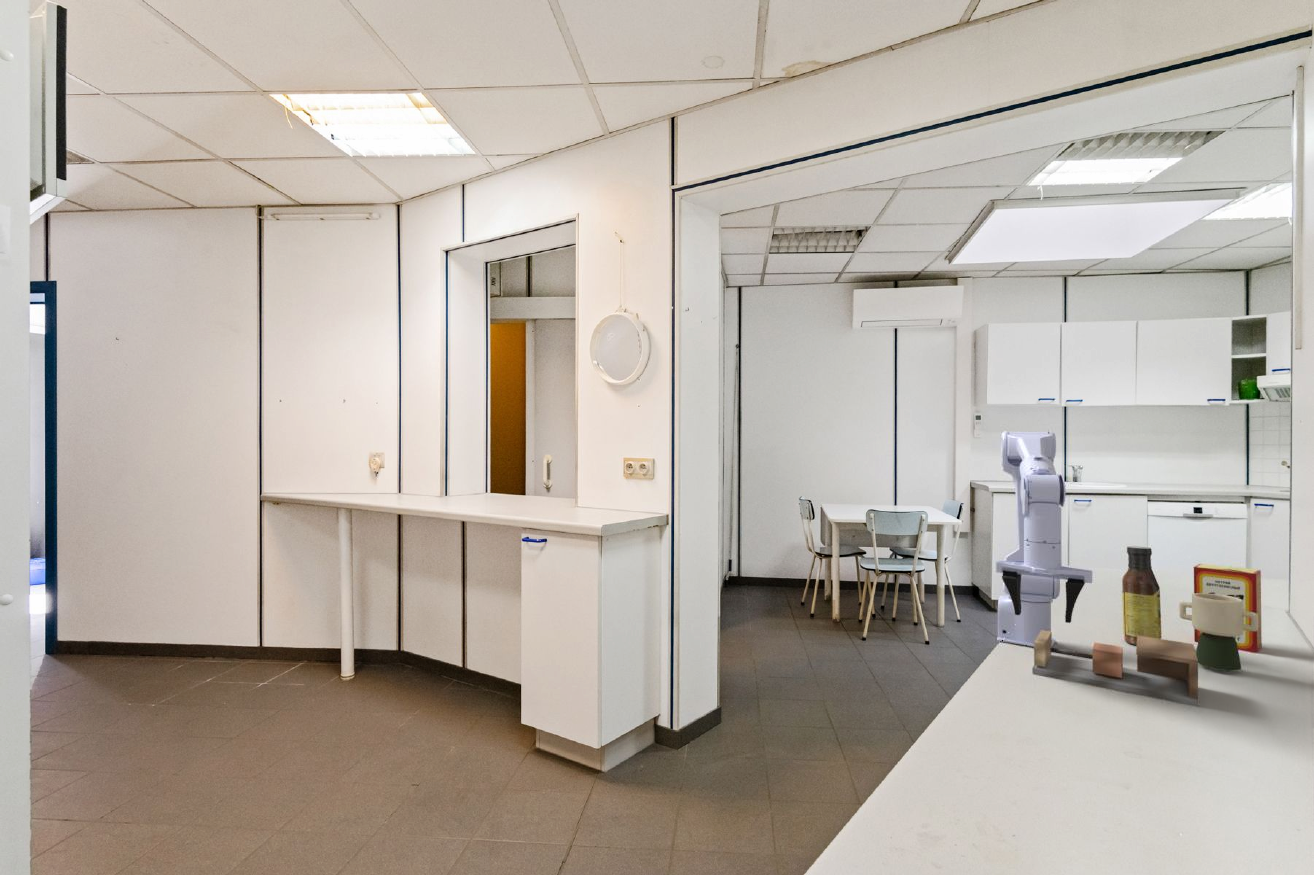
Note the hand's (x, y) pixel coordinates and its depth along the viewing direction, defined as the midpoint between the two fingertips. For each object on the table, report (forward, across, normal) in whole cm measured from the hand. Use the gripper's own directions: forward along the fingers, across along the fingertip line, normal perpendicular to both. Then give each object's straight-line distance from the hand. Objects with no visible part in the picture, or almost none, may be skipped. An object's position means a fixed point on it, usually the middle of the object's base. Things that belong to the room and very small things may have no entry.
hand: (1042, 617), depth 111 cm
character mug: (+10, +25, +23) cm, 35 cm away
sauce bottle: (+10, +14, +33) cm, 37 cm away
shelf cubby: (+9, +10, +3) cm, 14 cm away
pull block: (+8, +5, +3) cm, 10 cm away
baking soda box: (+10, +28, +45) cm, 53 cm away
